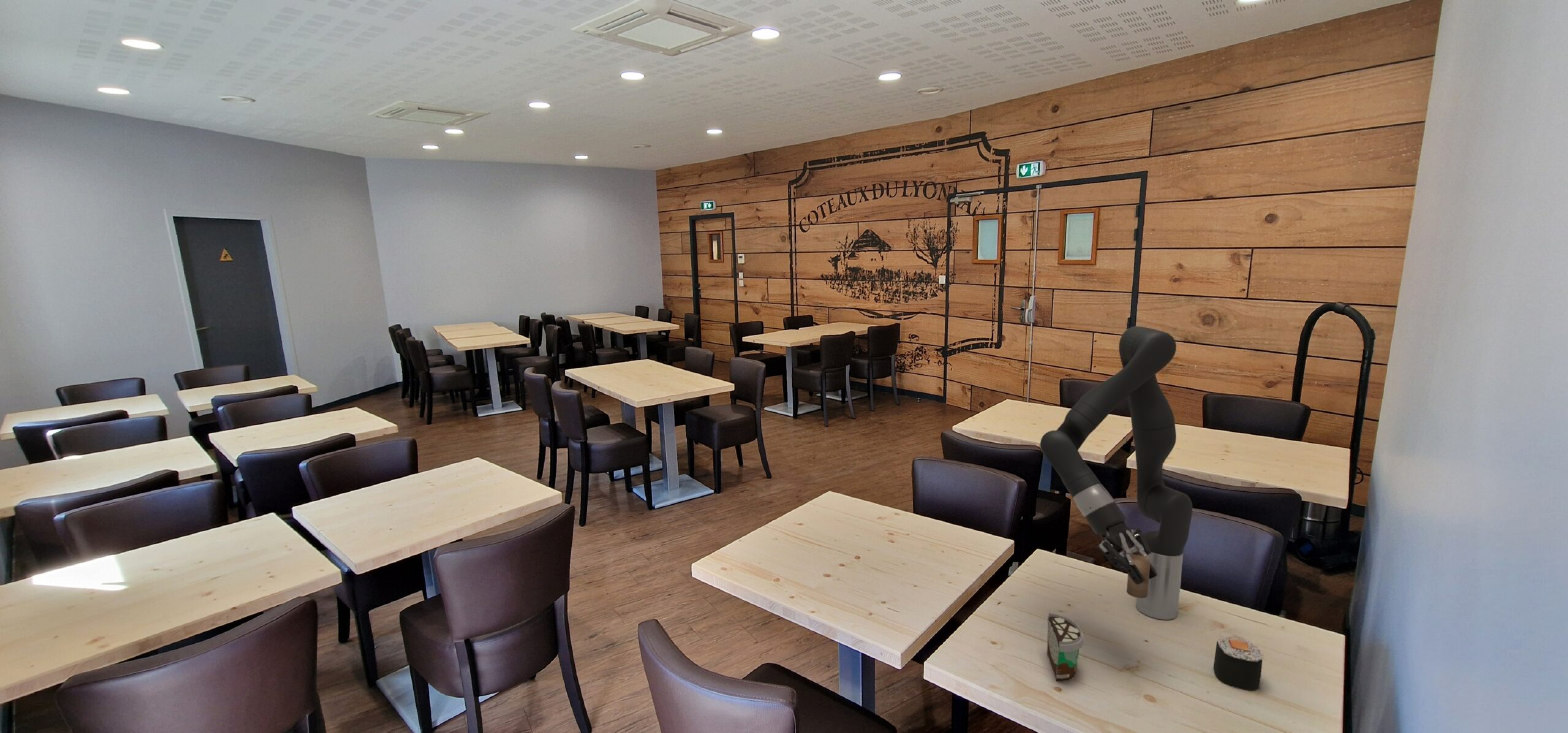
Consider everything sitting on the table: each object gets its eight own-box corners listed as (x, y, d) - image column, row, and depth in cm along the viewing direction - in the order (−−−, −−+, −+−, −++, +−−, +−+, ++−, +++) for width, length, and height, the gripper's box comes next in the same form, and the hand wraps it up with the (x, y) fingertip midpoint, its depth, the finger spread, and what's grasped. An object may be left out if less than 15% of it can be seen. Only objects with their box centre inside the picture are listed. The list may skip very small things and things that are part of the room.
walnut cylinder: (1133, 586, 140) (1136, 553, 139) (1151, 594, 136) (1154, 560, 135) (1122, 591, 138) (1125, 558, 137) (1140, 600, 134) (1143, 565, 133)
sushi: (1217, 684, 134) (1221, 650, 133) (1210, 662, 141) (1214, 630, 140) (1264, 695, 131) (1268, 660, 129) (1254, 671, 138) (1258, 638, 137)
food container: (1088, 689, 133) (1091, 646, 131) (1057, 685, 134) (1060, 643, 133) (1073, 654, 145) (1076, 614, 143) (1045, 651, 146) (1048, 611, 144)
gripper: (1090, 507, 137) (1141, 583, 129) (1129, 494, 144) (1179, 565, 136) (1067, 522, 142) (1115, 595, 134) (1106, 508, 149) (1153, 577, 141)
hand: (1147, 579), depth 135 cm, fingers closed on walnut cylinder, 4 cm apart
